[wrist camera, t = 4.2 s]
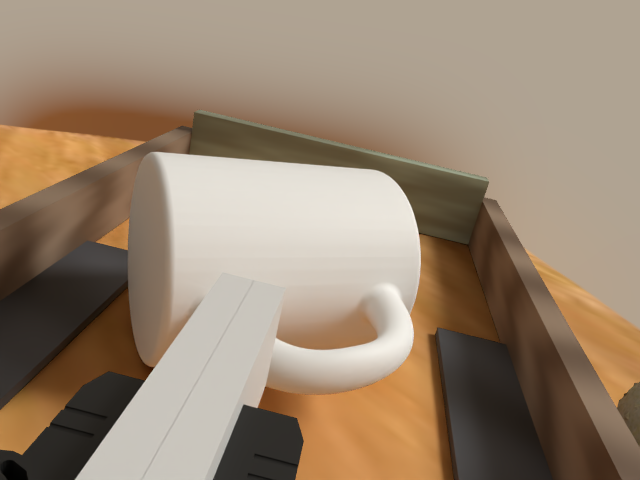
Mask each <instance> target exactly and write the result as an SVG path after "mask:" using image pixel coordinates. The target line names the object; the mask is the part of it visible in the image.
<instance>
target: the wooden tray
mask: <svg viewBox="0 0 640 480" xmlns="http://www.w3.org/2000/svg"><path fill="white" fill-rule="evenodd" d="M151 152H164V153H176V154H188V155H201V156H213V157H225V158H237V159H249V160H261V161H273V162H286V163H298V164H310V165H322V166H334V167H346V168H359V169H371V170H377V171H380V172H383V173H384V174H386V175H388V176H389V177H391V178H392V179H393V180H394V181H395V182H396V183H397V184H398V185H399V186H400V188H401V189H402V191H403V192H404V194H405V195H406V197H407V199H408V201H409V203H410V205H411V208H412V210H413V213H414V216H415V220H416V223H417V228H418V233H422V234H426V235H430V236H434V237H439V238H443V239H447V240H451V241H455V242H459V243H463V244H468V246H469V249H470V252H471V255H472V258H473V261H474V264H475V267H476V270H477V273H478V276H479V279H480V282H481V285H482V288H483V291H484V294H485V297H486V300H487V303H488V306H489V309H490V312H491V315H492V318H493V321H494V324H495V327H496V330H497V333H498V336H499V339H500V342H501V343H498V342H494V341H490V340H486V339H482V338H478V337H474V336H470V335H466V334H462V333H458V332H454V331H450V330H446V329H442V328H437V331H436V334H435V335H436V343H437V351H438V358H439V366H440V374H441V382H442V389H443V397H444V405H445V413H446V420H447V428H448V436H449V444H450V451H451V459H452V467H453V475H454V480H640V447H639V446H638V444H637V442H636V440H635V439H634V437H633V435H632V433H631V432H630V430H629V428H628V427H627V425H626V423H625V421H624V420H623V418H622V416H621V415H620V413H619V411H618V409H617V408H616V406H615V404H614V402H613V401H612V399H611V397H610V396H609V394H608V392H607V390H606V389H605V387H604V385H603V384H602V382H601V380H600V378H599V377H598V375H597V373H596V371H595V370H594V368H593V366H592V365H591V363H590V361H589V359H588V358H587V356H586V354H585V353H584V351H583V349H582V347H581V346H580V344H579V342H578V340H577V339H576V337H575V335H574V334H573V332H572V330H571V328H570V327H569V325H568V323H567V322H566V320H565V318H564V316H563V315H562V313H561V311H560V309H559V308H558V306H557V304H556V303H555V301H554V299H553V297H552V296H551V294H550V292H549V291H548V289H547V287H546V285H545V284H544V282H543V280H542V279H541V277H540V275H539V273H538V272H537V270H536V268H535V266H534V265H533V263H532V261H531V260H530V258H529V256H528V254H527V253H526V251H525V249H524V248H523V246H522V244H521V243H520V241H519V239H518V237H517V235H516V234H515V232H514V230H513V229H512V227H511V225H510V223H509V222H508V220H507V218H506V217H505V215H504V213H503V211H502V210H501V208H500V206H499V205H498V203H497V201H496V200H492V199H488V198H484V195H485V193H486V190H487V187H488V184H489V181H488V179H487V178H486V177H482V176H478V175H473V174H469V173H465V172H461V171H456V170H452V169H448V168H444V167H440V166H435V165H431V164H427V163H423V162H419V161H414V160H410V159H405V158H401V157H397V156H393V155H389V154H385V153H380V152H376V151H372V150H368V149H363V148H359V147H354V146H351V145H346V144H342V143H338V142H334V141H329V140H325V139H321V138H316V137H312V136H308V135H304V134H300V133H296V132H291V131H287V130H283V129H278V128H274V127H270V126H266V125H262V124H257V123H253V122H249V121H244V120H240V119H236V118H232V117H228V116H224V115H219V114H215V113H211V112H207V111H202V110H198V111H196V112H194V119H193V128H189V127H185V126H181V127H178V128H176V129H174V130H172V131H170V132H168V133H165V134H163V135H161V136H159V137H157V138H155V139H152V140H150V141H148V142H146V143H144V144H141V145H139V146H137V147H135V148H133V149H131V150H128V151H126V152H124V153H122V154H120V155H118V156H115V157H113V158H111V159H109V160H107V161H105V162H102V163H100V164H98V165H96V166H94V167H91V168H89V169H87V170H85V171H83V172H81V173H78V174H76V175H74V176H72V177H70V178H68V179H65V180H63V181H61V182H59V183H57V184H54V185H52V186H50V187H48V188H46V189H44V190H41V191H39V192H37V193H35V194H33V195H31V196H28V197H26V198H24V199H22V200H20V201H17V202H15V203H13V204H11V205H9V206H7V207H4V208H2V209H0V409H1V408H3V407H4V406H5V405H6V404H7V403H8V402H9V401H10V400H11V399H12V398H13V397H14V396H15V395H16V394H17V393H18V392H19V391H20V390H21V389H22V388H23V387H24V386H25V385H26V384H27V383H28V382H29V381H30V380H32V379H33V378H34V377H35V376H36V375H37V374H38V373H39V372H40V371H41V370H42V369H43V368H44V367H45V366H46V365H47V364H48V363H49V362H50V361H51V360H52V359H53V358H54V357H55V356H56V355H57V354H58V353H59V352H61V351H62V350H63V349H64V348H65V347H66V346H67V345H68V344H69V343H70V342H71V341H72V340H73V339H74V338H75V337H76V336H77V335H78V334H79V333H80V332H81V331H82V330H83V329H84V328H85V327H86V326H87V325H88V324H89V323H91V322H92V321H93V320H94V319H95V318H96V317H97V316H98V315H99V314H100V313H101V312H102V311H103V310H104V309H105V308H106V307H107V306H108V305H109V304H110V303H111V302H112V301H113V300H114V299H115V298H116V297H117V296H118V295H120V294H121V293H122V292H123V291H124V290H125V289H126V288H127V287H128V250H124V249H120V248H116V247H112V246H108V245H104V244H100V243H96V241H97V240H98V239H100V238H101V237H103V236H104V235H105V234H107V233H108V232H110V231H111V230H112V229H114V228H115V227H117V226H118V225H119V224H121V223H122V222H124V221H125V220H126V219H128V218H129V217H130V209H131V201H132V194H133V188H134V183H135V179H136V175H137V171H138V168H139V166H140V163H141V161H142V160H143V158H144V157H145V156H146V155H147V154H149V153H151Z"/></svg>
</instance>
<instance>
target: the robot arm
mask: <svg viewBox="0 0 640 480" xmlns="http://www.w3.org/2000/svg"><path fill="white" fill-rule="evenodd" d="M285 290H286V288H284V287H280V286H276V285H272V284H268V283H264V282H260V281H256V280H252V279H248V278H244V277H240V276H236V275H232V274H228V273H224V272H222V274H221V275H220V277H219V278H218V279H217V281H216V282H215V284H214V285H213V286H212V288H211V289H210V291H209V292H208V293H207V295H206V296H205V298H204V299H203V301H202V302H201V303H200V305H199V306H198V308H197V309H196V310H195V312H194V313H193V315H192V316H191V317H190V319H189V320H188V322H187V323H186V324H185V326H184V327H183V329H182V330H181V331H180V333H179V334H178V336H177V337H176V338H175V340H174V341H173V343H172V344H171V345H170V347H169V348H168V350H167V351H166V352H165V354H164V355H163V357H162V358H161V359H160V361H159V362H158V364H157V365H156V367H155V368H154V369H153V371H152V372H151V374H150V375H149V376H148V378H147V379H146V381H144V380H140V379H136V378H132V377H129V376H125V375H121V374H117V373H113V372H107V373H105V374H103V375H101V376H100V377H98V378H96V379H94V380H92V381H91V382H89V383H87V384H85V385H83V386H82V387H81V389H80V390H79V391H78V392H77V393H76V394H75V395H74V397H73V398H72V399H71V400H70V401H69V402H68V403H67V405H66V406H65V409H64V410H61V411H60V413H59V414H58V415H57V416H56V417H55V418H54V419H53V420H52V422H51V423H50V426H49V427H46V428H45V430H44V431H43V432H42V433H41V434H40V435H39V436H38V438H37V439H36V440H35V441H34V442H33V443H32V444H31V446H30V447H29V448H28V449H27V450H26V451H25V452H24V454H23V455H20V454H18V453H16V452H14V451H7V450H0V480H295V478H296V473H297V468H298V464H299V460H300V455H301V451H302V446H303V442H304V441H303V437H302V434H301V430H300V427H299V424H298V420H297V418H294V417H290V416H286V415H282V414H279V413H275V412H271V411H267V410H263V409H259V408H258V405H259V402H260V399H261V397H262V394H263V391H264V388H265V386H266V382H267V377H268V372H269V367H270V363H271V358H272V353H273V348H274V343H275V338H276V334H277V329H278V324H279V319H280V314H281V310H282V305H283V300H284V295H285Z"/></svg>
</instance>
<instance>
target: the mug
mask: <svg viewBox="0 0 640 480" xmlns="http://www.w3.org/2000/svg"><path fill="white" fill-rule="evenodd" d="M420 267H421V252H420V240H419V233H418V228H417V223H416V220H415V216H414V213H413V210H412V208H411V205H410V203H409V201H408V199H407V197H406V195H405V194H404V192H403V191H402V189H401V188H400V186H399V185H398V184H397V183H396V182H395V181H394V180H393V179H392V178H391V177H389V176H388V175H386V174H384V173H383V172H380V171H377V170H371V169H359V168H346V167H334V166H322V165H310V164H298V163H286V162H273V161H261V160H249V159H237V158H225V157H213V156H201V155H188V154H176V153H164V152H151V153H149V154H147V155H146V156H145V157H144V158H143V160H142V161H141V163H140V166H139V168H138V171H137V175H136V179H135V183H134V188H133V194H132V201H131V209H130V220H129V234H128V290H129V305H130V315H131V323H132V330H133V335H134V340H135V344H136V347H137V351H138V353H139V356H140V358H141V359H142V361H143V362H144V363H145V364H146V365H148V366H150V367H156V365H157V364H158V362H159V361H160V359H161V358H162V357H163V355H164V354H165V352H166V351H167V350H168V348H169V347H170V345H171V344H172V343H173V341H174V340H175V338H176V337H177V336H178V334H179V333H180V331H181V330H182V329H183V327H184V326H185V324H186V323H187V322H188V320H189V319H190V317H191V316H192V315H193V313H194V312H195V310H196V309H197V308H198V306H199V305H200V303H201V302H202V301H203V299H204V298H205V296H206V295H207V293H208V292H209V291H210V289H211V288H212V286H213V285H214V284H215V282H216V281H217V279H218V278H219V277H220V275H221V274H222V272H224V273H228V274H232V275H236V276H240V277H244V278H248V279H252V280H256V281H260V282H264V283H268V284H272V285H276V286H280V287H284V288H286V290H285V295H284V300H283V305H282V310H281V314H280V319H279V324H278V329H277V334H276V338H275V343H274V348H273V353H272V358H271V363H270V367H269V372H268V377H267V382H266V387H269V388H272V389H275V390H279V391H283V392H288V393H295V394H304V395H326V394H336V393H342V392H347V391H352V390H356V389H359V388H362V387H365V386H368V385H371V384H373V383H375V382H377V381H379V380H381V379H383V378H385V377H387V376H388V375H390V374H391V373H393V372H394V371H395V370H396V369H397V368H399V367H400V366H401V365H402V363H403V362H404V361H405V360H406V358H407V357H408V355H409V353H410V351H411V348H412V344H413V338H414V331H413V325H412V321H411V317H410V313H411V310H412V308H413V305H414V302H415V299H416V295H417V290H418V285H419V278H420Z"/></svg>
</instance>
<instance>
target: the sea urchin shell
mask: <svg viewBox="0 0 640 480" xmlns="http://www.w3.org/2000/svg"><path fill="white" fill-rule="evenodd" d="M617 409H618V411H619V413H620V415H621V416H622V418H623V420H624V421H625V423H626V425H627V427H628V428H629V430H630V432H631V433H632V435H633V437H634V439H635V440H636V442H637V444H638V446H639V447H640V382H639V383H634V386H633V387H632V388H631V389H630V390H629V391H628V392H627V393H625V394H624V397H623V398H622V399H620V400H619V403H618V407H617Z"/></svg>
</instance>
